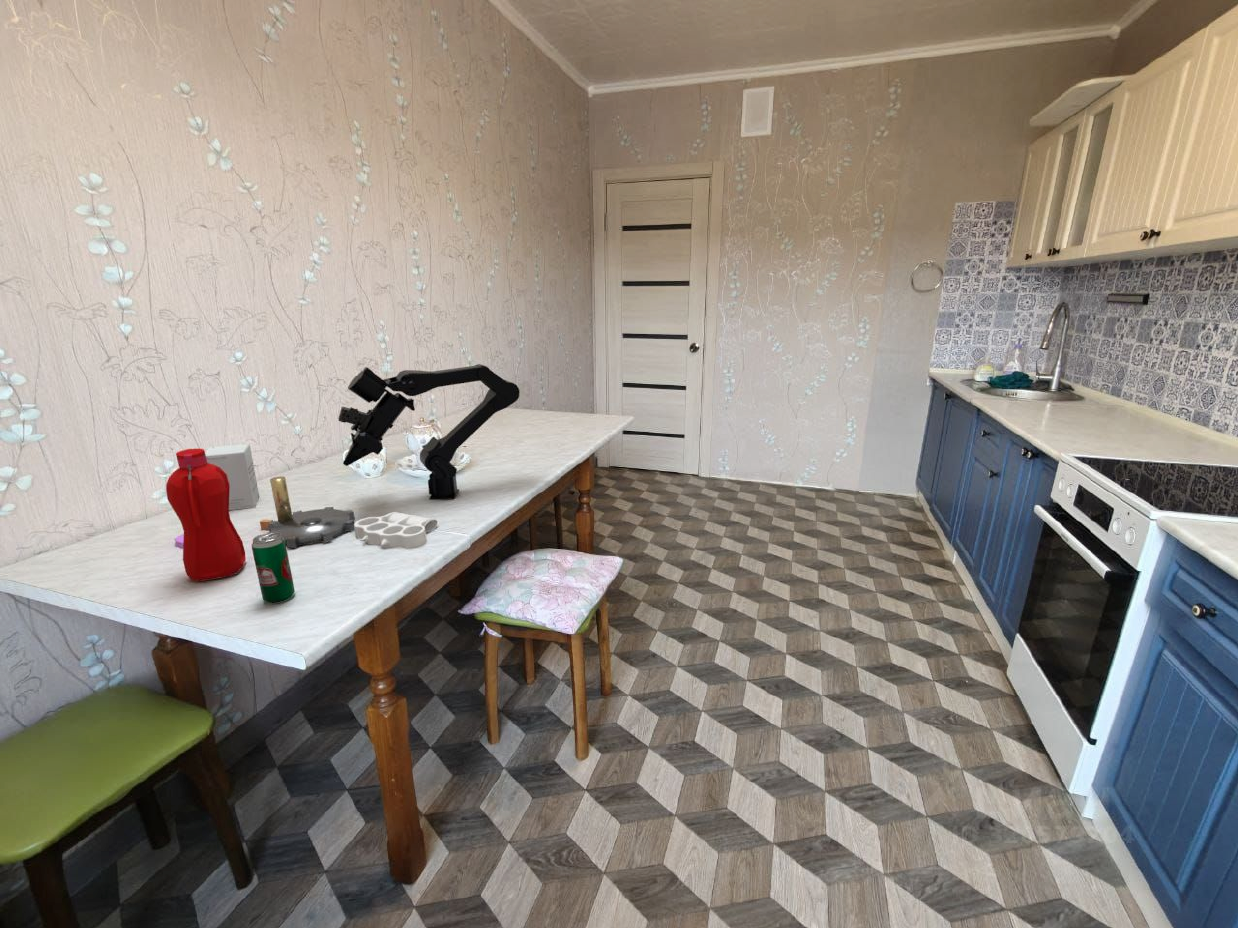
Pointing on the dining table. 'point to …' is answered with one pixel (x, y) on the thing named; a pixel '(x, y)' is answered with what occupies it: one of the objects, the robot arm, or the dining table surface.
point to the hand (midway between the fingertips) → (344, 464)
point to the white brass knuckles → (394, 530)
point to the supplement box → (237, 473)
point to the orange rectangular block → (265, 524)
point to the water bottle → (204, 517)
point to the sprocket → (306, 520)
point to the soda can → (273, 567)
